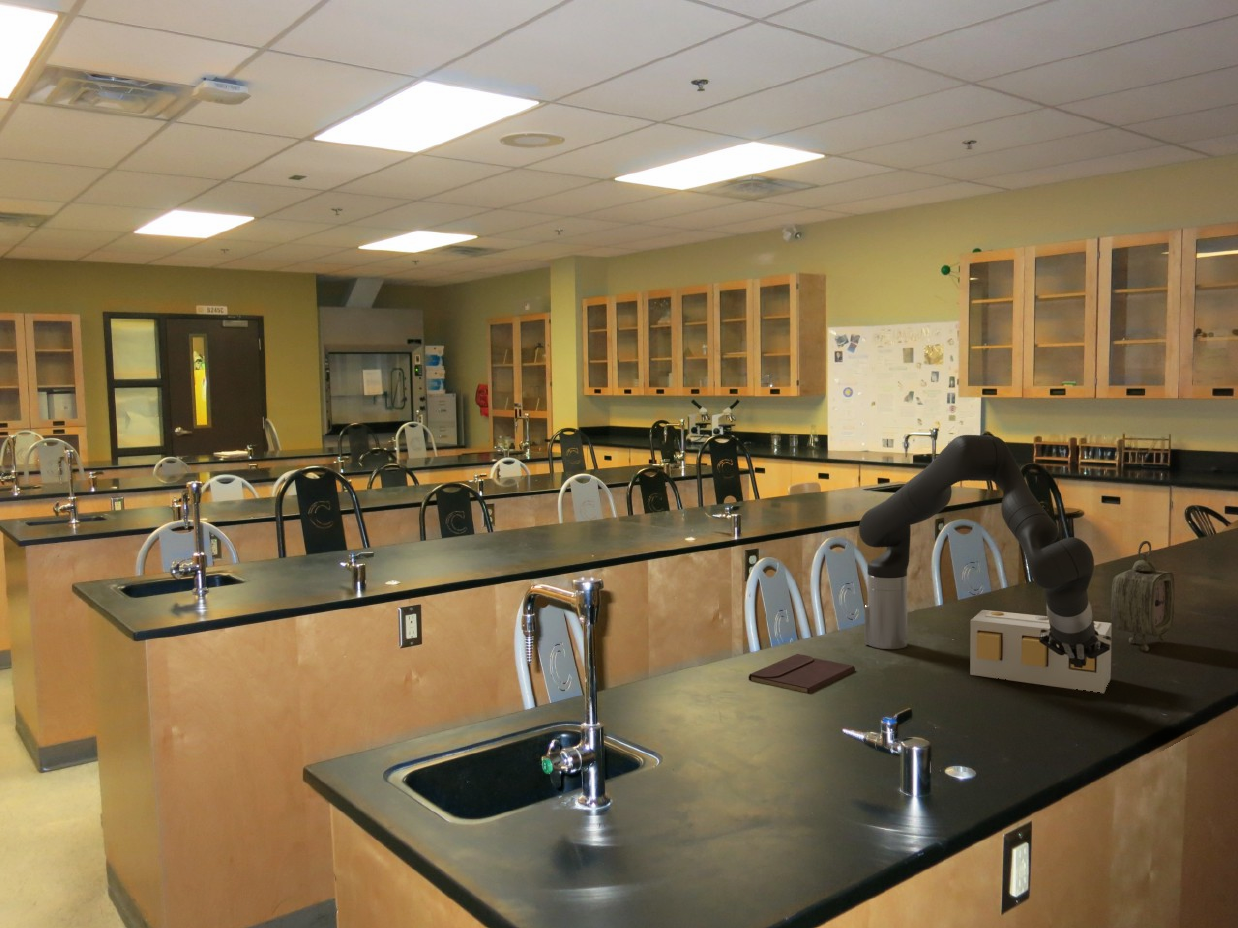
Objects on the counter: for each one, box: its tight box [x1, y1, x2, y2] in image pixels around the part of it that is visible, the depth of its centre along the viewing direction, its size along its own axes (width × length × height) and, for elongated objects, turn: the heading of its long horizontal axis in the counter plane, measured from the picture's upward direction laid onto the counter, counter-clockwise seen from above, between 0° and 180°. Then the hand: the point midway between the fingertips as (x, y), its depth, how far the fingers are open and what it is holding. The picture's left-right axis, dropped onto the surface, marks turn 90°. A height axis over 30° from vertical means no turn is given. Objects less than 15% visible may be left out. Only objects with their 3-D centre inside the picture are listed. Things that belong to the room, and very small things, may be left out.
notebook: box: [748, 653, 856, 694], centre depth 209 cm, size 15×20×2 cm
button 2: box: [1071, 648, 1097, 671], centre depth 196 cm, size 4×3×5 cm
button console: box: [969, 609, 1113, 694], centre depth 204 cm, size 26×11×12 cm, turn 57°
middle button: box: [1022, 636, 1047, 667], centre depth 199 cm, size 4×3×5 cm
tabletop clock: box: [1110, 540, 1175, 653], centre depth 226 cm, size 14×9×25 cm, turn 131°
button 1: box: [977, 631, 1002, 661], centre depth 204 cm, size 4×3×5 cm
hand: (1078, 663), depth 189 cm, fingers closed
